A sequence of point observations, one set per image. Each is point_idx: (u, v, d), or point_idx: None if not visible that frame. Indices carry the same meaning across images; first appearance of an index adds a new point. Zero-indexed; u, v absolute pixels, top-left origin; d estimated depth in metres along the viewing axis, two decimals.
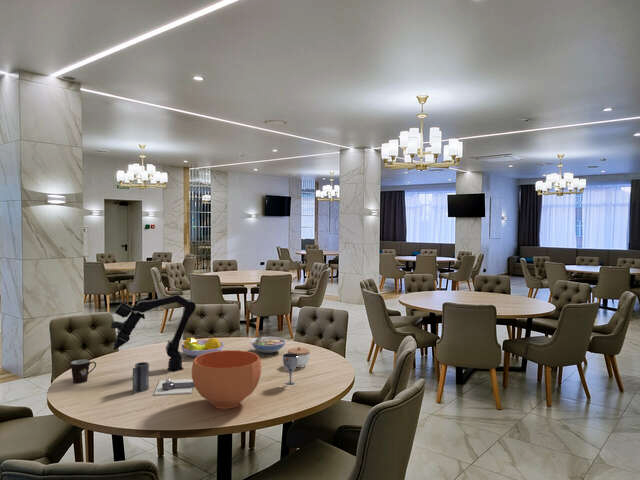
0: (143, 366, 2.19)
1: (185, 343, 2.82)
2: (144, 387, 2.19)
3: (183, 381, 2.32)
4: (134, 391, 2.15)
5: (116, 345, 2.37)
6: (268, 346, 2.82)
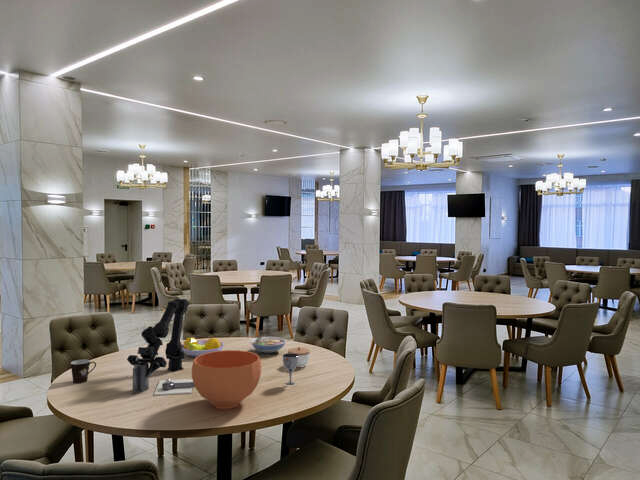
0: (143, 366, 2.19)
1: (185, 343, 2.82)
2: (144, 387, 2.19)
3: (183, 381, 2.32)
4: (134, 391, 2.15)
5: (149, 372, 2.21)
6: (268, 346, 2.82)
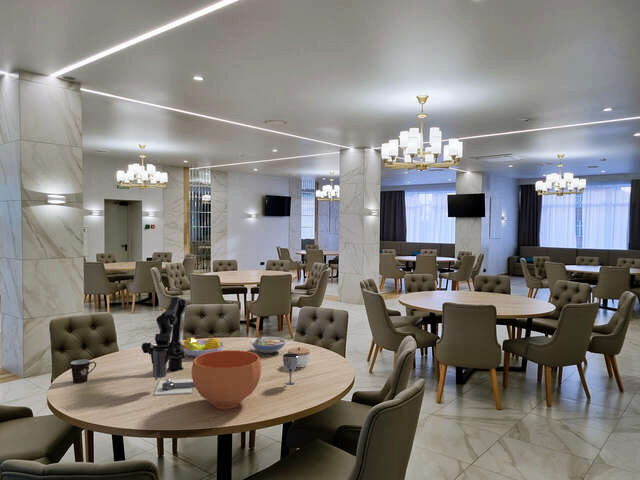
0: (163, 352, 2.19)
1: (185, 343, 2.82)
2: (163, 373, 2.19)
3: (183, 381, 2.32)
4: (156, 377, 2.14)
5: (168, 358, 2.21)
6: (268, 346, 2.82)
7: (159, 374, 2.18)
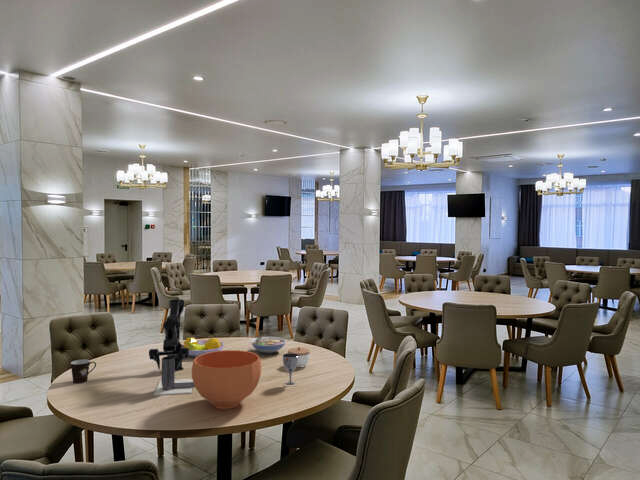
0: (172, 360, 2.20)
1: (185, 343, 2.82)
2: (172, 380, 2.20)
3: (183, 381, 2.32)
4: (166, 385, 2.15)
5: (179, 363, 2.22)
6: (268, 346, 2.82)
7: (168, 382, 2.18)
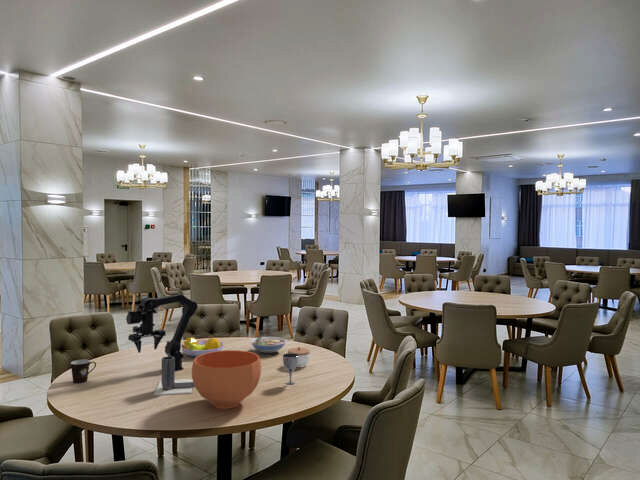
0: (172, 360, 2.20)
1: (185, 343, 2.82)
2: (172, 380, 2.20)
3: (183, 381, 2.32)
4: (166, 385, 2.15)
5: (137, 348, 2.39)
6: (268, 346, 2.82)
7: (168, 382, 2.18)
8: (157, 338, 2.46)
